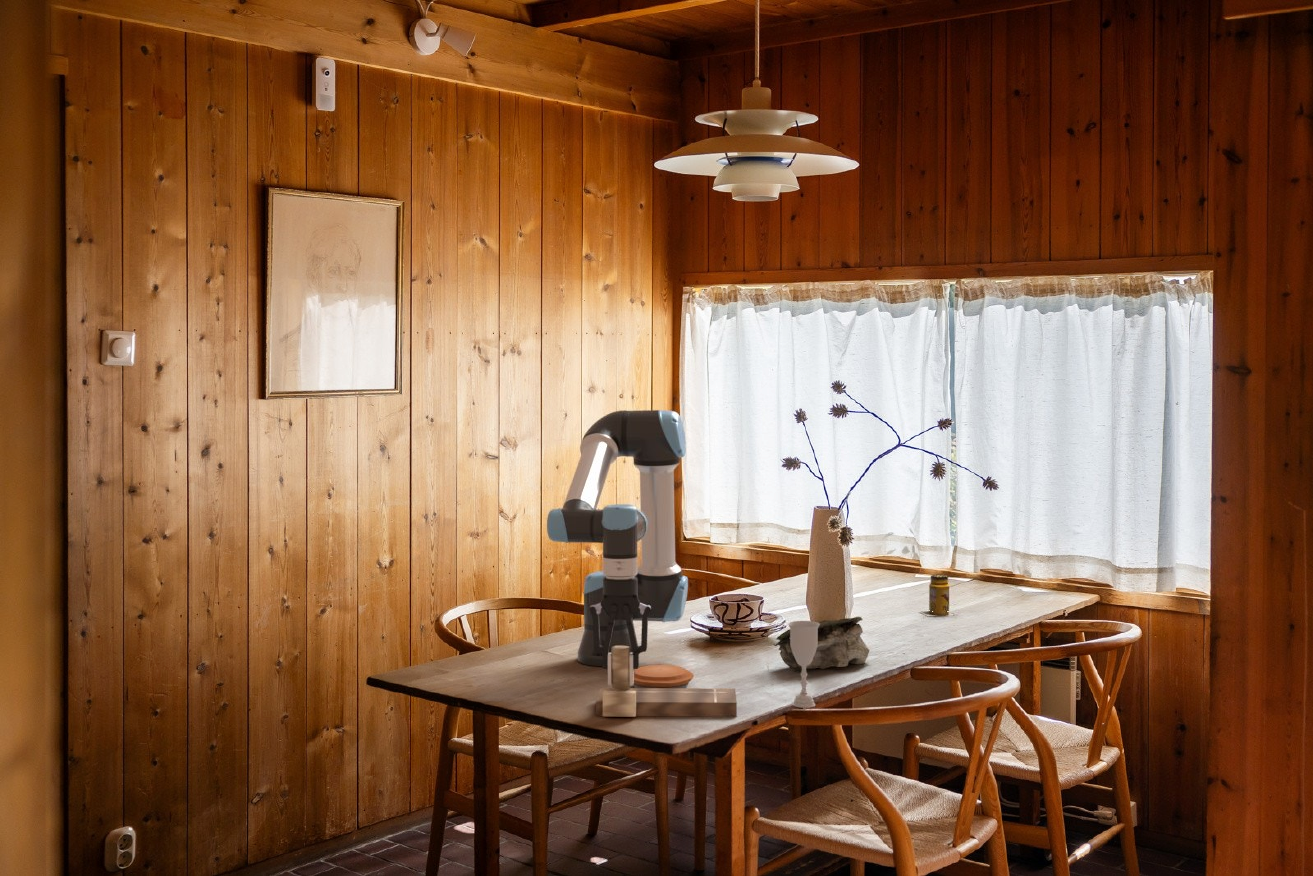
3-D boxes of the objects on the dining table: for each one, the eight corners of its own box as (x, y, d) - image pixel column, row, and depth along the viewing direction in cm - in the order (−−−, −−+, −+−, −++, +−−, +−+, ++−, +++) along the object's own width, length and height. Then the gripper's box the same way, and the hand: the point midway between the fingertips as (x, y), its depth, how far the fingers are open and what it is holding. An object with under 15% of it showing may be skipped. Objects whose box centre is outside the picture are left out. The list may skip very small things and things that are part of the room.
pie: (617, 686, 285) (617, 665, 285) (676, 679, 291) (676, 659, 291) (642, 701, 271) (642, 679, 270) (705, 694, 277) (704, 672, 277)
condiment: (954, 615, 370) (954, 576, 370) (928, 616, 369) (928, 577, 368) (943, 611, 377) (944, 573, 377) (918, 612, 376) (918, 574, 375)
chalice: (807, 710, 262) (807, 628, 261) (781, 705, 266) (781, 624, 266) (826, 704, 267) (826, 623, 267) (800, 698, 272) (800, 619, 271)
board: (596, 715, 258) (596, 701, 258) (601, 701, 270) (601, 687, 270) (736, 716, 257) (736, 702, 257) (735, 702, 269) (735, 688, 269)
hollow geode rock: (781, 694, 295) (807, 658, 285) (757, 651, 302) (782, 615, 293) (867, 675, 310) (895, 641, 300) (843, 635, 317) (869, 600, 308)
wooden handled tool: (602, 716, 256) (602, 653, 256) (606, 702, 267) (606, 642, 267) (635, 716, 256) (635, 653, 255) (638, 702, 267) (638, 642, 267)
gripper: (579, 579, 257) (579, 687, 258) (659, 579, 256) (659, 688, 257) (582, 573, 265) (583, 679, 266) (660, 573, 264) (660, 679, 265)
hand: (620, 683), depth 262 cm, fingers closed on wooden handled tool, 4 cm apart
